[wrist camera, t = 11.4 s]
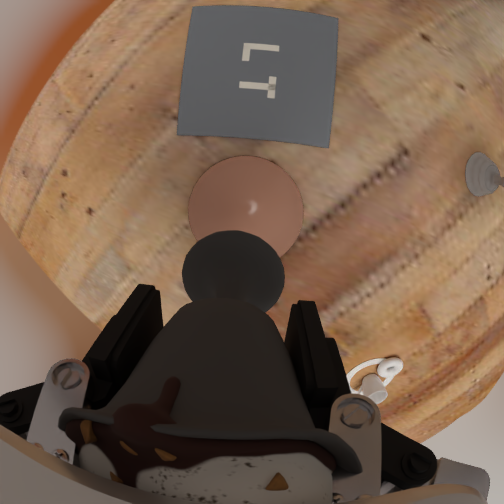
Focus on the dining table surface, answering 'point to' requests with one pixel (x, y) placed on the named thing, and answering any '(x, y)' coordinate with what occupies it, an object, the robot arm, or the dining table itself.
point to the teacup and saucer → (376, 378)
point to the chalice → (482, 175)
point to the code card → (259, 74)
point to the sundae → (215, 396)
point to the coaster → (247, 202)
